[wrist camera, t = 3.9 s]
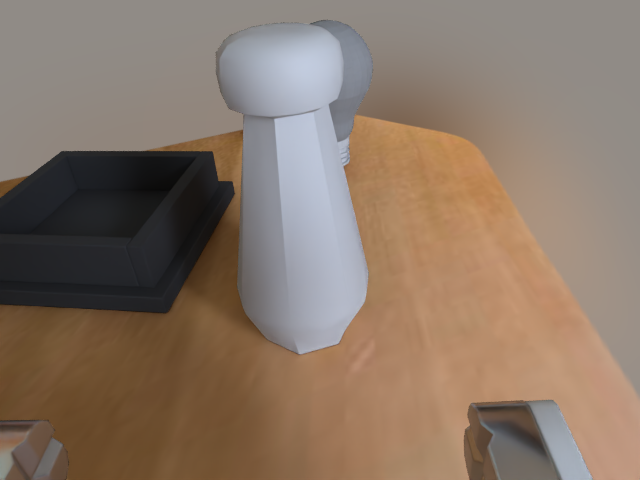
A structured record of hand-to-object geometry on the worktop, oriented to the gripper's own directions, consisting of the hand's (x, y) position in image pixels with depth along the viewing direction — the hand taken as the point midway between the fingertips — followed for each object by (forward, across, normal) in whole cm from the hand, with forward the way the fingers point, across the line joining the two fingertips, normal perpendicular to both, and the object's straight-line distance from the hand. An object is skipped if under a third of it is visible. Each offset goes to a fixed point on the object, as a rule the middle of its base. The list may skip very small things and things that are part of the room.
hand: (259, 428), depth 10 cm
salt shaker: (+12, 0, +8) cm, 14 cm away
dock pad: (+19, +12, +8) cm, 24 cm away
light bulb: (+28, -2, +8) cm, 29 cm away
